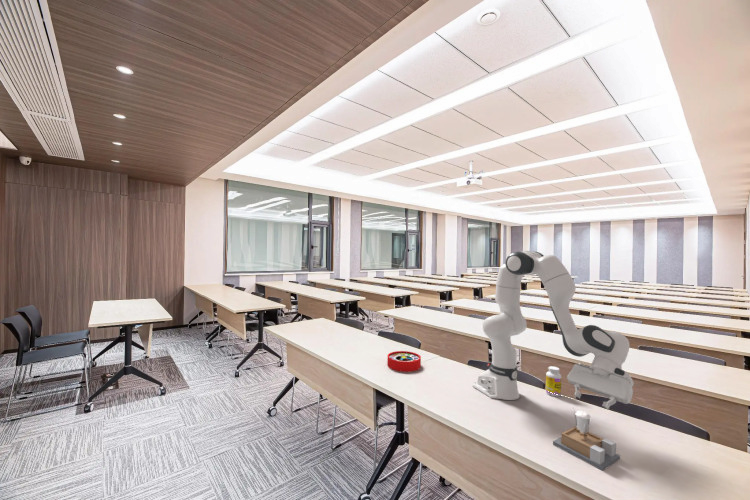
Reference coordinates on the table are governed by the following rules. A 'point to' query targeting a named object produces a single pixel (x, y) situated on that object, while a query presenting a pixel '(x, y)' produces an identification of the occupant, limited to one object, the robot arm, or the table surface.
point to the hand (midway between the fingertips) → (590, 402)
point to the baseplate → (589, 448)
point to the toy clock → (404, 361)
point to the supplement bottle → (553, 381)
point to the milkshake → (582, 424)
